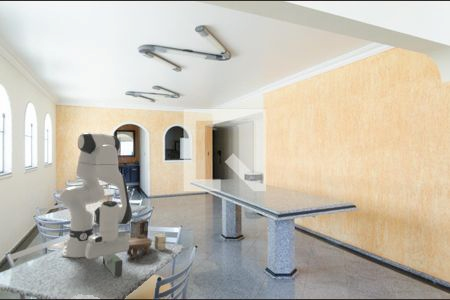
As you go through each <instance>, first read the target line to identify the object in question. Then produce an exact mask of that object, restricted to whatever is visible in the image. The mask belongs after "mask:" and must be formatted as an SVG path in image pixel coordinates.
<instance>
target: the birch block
mask: <svg viewBox="0 0 450 300" xmlns="http://www.w3.org/2000/svg"><path fill="white" fill-rule="evenodd" d="M166 242H167V236H166V235H164V234H156V235H154V249H155V250H156V251H158V252H159V251H164V250H166V247H167V245H166V244H167V243H166Z"/></svg>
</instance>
